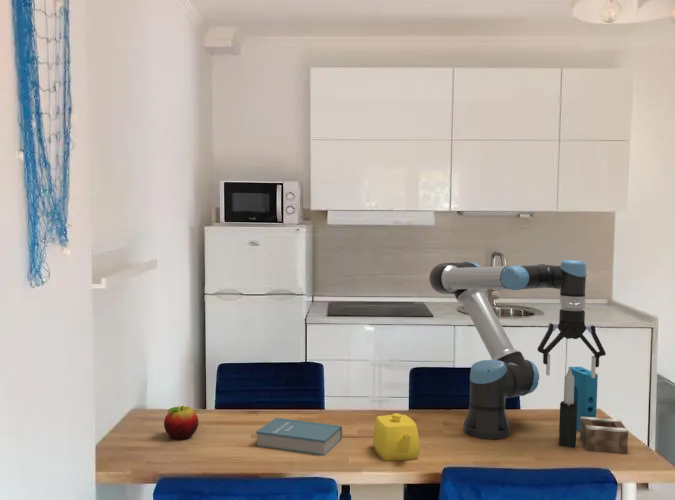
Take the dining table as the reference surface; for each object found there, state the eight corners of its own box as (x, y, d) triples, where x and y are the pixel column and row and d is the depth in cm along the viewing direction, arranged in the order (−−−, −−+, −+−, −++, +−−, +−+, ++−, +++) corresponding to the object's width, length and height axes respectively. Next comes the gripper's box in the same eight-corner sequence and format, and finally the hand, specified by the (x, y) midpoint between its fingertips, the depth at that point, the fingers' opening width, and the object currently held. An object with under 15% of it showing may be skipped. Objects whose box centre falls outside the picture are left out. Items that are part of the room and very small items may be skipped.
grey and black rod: (575, 443, 209) (578, 365, 208) (575, 448, 204) (578, 369, 203) (558, 441, 211) (561, 364, 210) (558, 446, 206) (561, 367, 205)
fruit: (205, 436, 209) (205, 405, 208) (175, 444, 201) (176, 412, 200) (185, 428, 216) (186, 399, 216) (157, 436, 208) (157, 405, 208)
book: (255, 447, 201) (256, 431, 201) (277, 431, 216) (277, 417, 216) (324, 457, 194) (325, 440, 194) (341, 440, 209) (342, 424, 209)
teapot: (427, 464, 188) (428, 424, 187) (386, 467, 185) (387, 426, 185) (405, 441, 208) (406, 405, 207) (368, 443, 205) (369, 406, 204)
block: (596, 433, 219) (598, 374, 218) (582, 433, 218) (584, 374, 217) (579, 422, 231) (580, 366, 230) (565, 422, 230) (567, 366, 229)
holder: (585, 450, 202) (586, 427, 202) (579, 437, 214) (580, 416, 214) (627, 453, 200) (628, 430, 200) (619, 440, 212) (619, 419, 211)
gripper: (532, 309, 204) (530, 376, 205) (616, 312, 199) (614, 381, 200) (530, 306, 212) (528, 371, 212) (611, 309, 207) (609, 375, 207)
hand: (570, 376), depth 206 cm, fingers open, 13 cm apart
